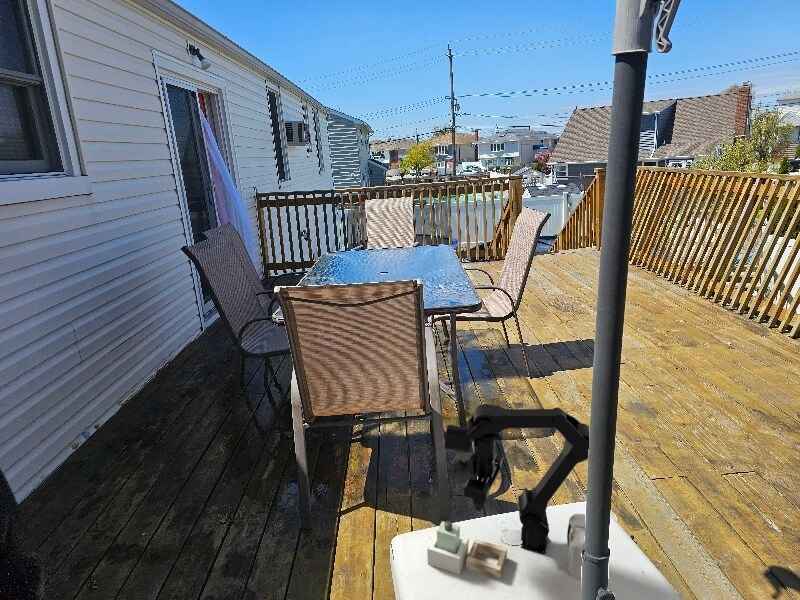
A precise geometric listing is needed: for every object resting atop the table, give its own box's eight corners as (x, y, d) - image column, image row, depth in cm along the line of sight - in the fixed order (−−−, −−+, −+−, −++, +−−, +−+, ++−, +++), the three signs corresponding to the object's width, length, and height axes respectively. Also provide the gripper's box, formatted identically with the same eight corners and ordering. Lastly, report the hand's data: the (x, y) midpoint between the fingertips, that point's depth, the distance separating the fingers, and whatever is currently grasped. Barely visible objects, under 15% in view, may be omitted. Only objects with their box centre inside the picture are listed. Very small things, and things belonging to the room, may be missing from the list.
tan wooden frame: (506, 557, 136) (507, 548, 135) (499, 579, 129) (500, 570, 129) (474, 547, 140) (475, 538, 139) (466, 568, 133) (466, 559, 132)
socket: (468, 552, 138) (468, 537, 137) (459, 574, 131) (459, 558, 130) (437, 543, 142) (437, 528, 140) (427, 563, 135) (427, 548, 134)
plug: (459, 550, 137) (459, 521, 134) (454, 561, 133) (454, 531, 131) (442, 545, 139) (442, 516, 136) (437, 555, 135) (436, 526, 133)
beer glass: (594, 582, 128) (599, 534, 123) (565, 579, 129) (569, 530, 125) (590, 561, 134) (594, 514, 130) (563, 558, 136) (566, 511, 131)
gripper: (465, 427, 146) (465, 473, 151) (443, 463, 130) (444, 514, 134) (504, 435, 142) (502, 483, 146) (486, 473, 125) (484, 525, 130)
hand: (483, 500), depth 139 cm, fingers open, 9 cm apart
